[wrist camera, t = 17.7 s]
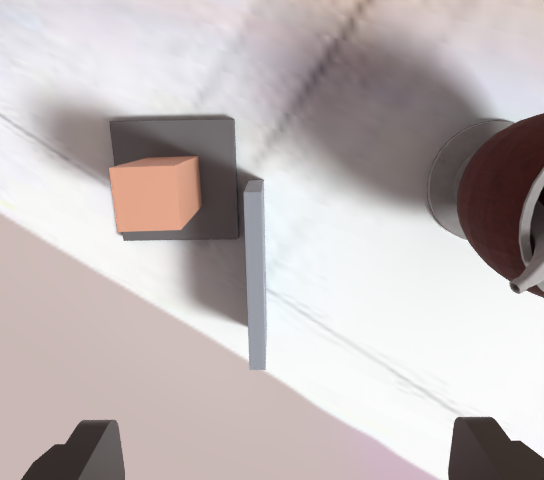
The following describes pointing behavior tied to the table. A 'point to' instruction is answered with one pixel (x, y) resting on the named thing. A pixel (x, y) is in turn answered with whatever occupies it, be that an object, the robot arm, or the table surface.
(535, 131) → the mate gourd
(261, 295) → the slate screen
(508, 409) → the table surface
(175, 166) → the terracotta block
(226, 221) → the charcoal mat
